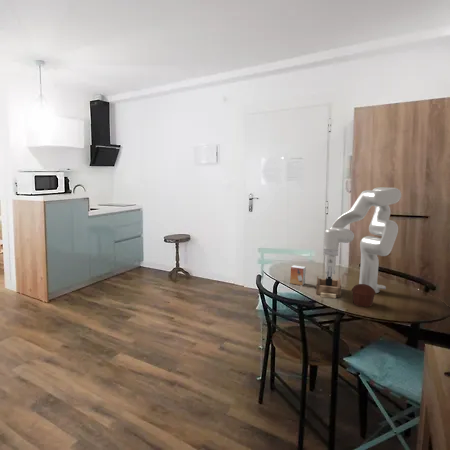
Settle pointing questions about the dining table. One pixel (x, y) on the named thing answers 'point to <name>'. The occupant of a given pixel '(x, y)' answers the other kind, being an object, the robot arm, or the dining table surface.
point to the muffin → (363, 295)
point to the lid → (328, 295)
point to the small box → (297, 275)
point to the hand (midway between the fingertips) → (328, 285)
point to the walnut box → (328, 287)
